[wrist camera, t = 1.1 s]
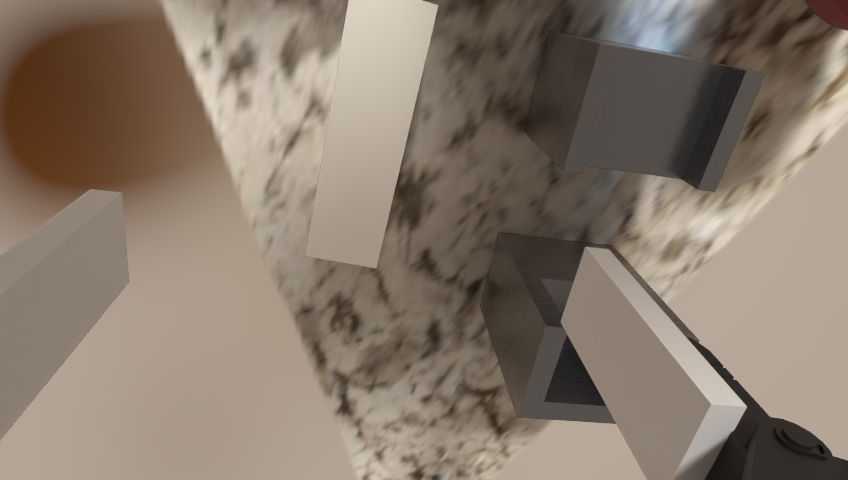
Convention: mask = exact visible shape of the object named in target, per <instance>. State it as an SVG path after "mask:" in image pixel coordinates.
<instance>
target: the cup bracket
mask: <svg viewBox="0 0 848 480" xmlns="http://www.w3.org/2000/svg"><path fill="white" fill-rule="evenodd" d="M585 247H593V248H601V249H609V250H610V251H611V252H612V253H613V255H614V256H615V257H616V258H617V259H618V260H619V261H620V263H621V264H622V265H623V266H624V267H625V268H626V269H627V271H628V272H629V273H630V274H631V275H632V276H633V277H634V279H635V280H636V281H637V282H638V283H639V284H640V285H641V286H642V288H643V289H644V290H645V291H646V292H647V293H648V294H649V296H650V297H651V298H652V299H653V300H654V301H655V302H656V304H657V305H658V306H659V307H660V308H661V309H662V310H663V312H664V313H665V314H666V315H667V316H668V317H669V318H670V319H671V321H672V322H673V323H674V324H675V325H676V326H677V327H678V329H679V330H680V331H681V332H682V333H683V334H684V335H685V337H689V338H692V339H694V340H695V341H696V342H699V340H698V338H697V337H696V336H695V335H694V334H693V333H692V332H691V331H690V330H689V329H688V328H687V327H686V325H685V324H684V323H683V322H682V321H681V320H680V319H679V318H678V317H677V316H676V314H675V313H674V312H673V311H672V310H671V309H670V308H669V307H668V306H667V305H666V303H665V302H664V301H663V300H662V299H661V298H660V297H659V296H658V295H657V294H656V293H655V291H654V290H653V289H652V288H651V287H650V286H649V285H648V284H647V283H646V282H645V281H644V279H643V278H642V277H641V276H640V275H639V274H638V273H637V272H636V271H635V270H634V269H633V267H632V266H631V265H630V264H629V263H628V262H627V261H626V260H625V259H624V258H623V257H622V255H621V254H620V253H619V252H618V251H617V250H616V249H615V248H614V247H613V246H609V245H600V244H592V243H584V242H575V241H567V240H559V239H550V238H542V237H534V236H525V235H517V234H509V233H500V232H499V233H498V237H497V241H496V245H495V249H494V253H493V257H492V261H491V265H490V269H489V273H488V277H487V281H486V285H485V289H484V293H483V296H482V300H481V304H480V307H481V310H482V313H483V316H484V319H485V322H486V326H487V329H488V332H489V335H490V338H491V341H492V344H493V347H494V350H495V353H496V356H497V359H498V362H499V365H500V368H501V371H502V374H503V377H504V380H505V383H506V386H507V389H508V392H509V395H510V398H511V401H512V404H513V407H514V410H515V413H516V416H517V417H521V418H536V419H551V420H567V421H582V422H597V423H612V424H613V423H614V424H616V422H615V420H614V419H613V417H612V415H611V413H610V411H609V410H608V408H607V406H606V404H605V402H604V400H603V399H602V397H601V395H600V393H599V391H598V390H597V388H596V386H595V384H594V382H593V380H592V379H591V377H590V375H589V373H588V371H587V369H586V368H585V366H584V364H583V362H582V360H581V359H580V357H579V355H578V353H577V351H576V349H575V348H574V346H573V344H572V342H571V340H570V339H569V337H568V335H567V333H566V331H565V329H564V328H563V326H562V324H561V319H562V316H563V313H564V310H565V306H566V303H567V300H568V297H569V294H570V291H571V288H572V285H573V282H574V279H575V276H576V273H577V270H578V267H579V264H580V261H581V258H582V255H583V252H584V249H585Z"/></svg>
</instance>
